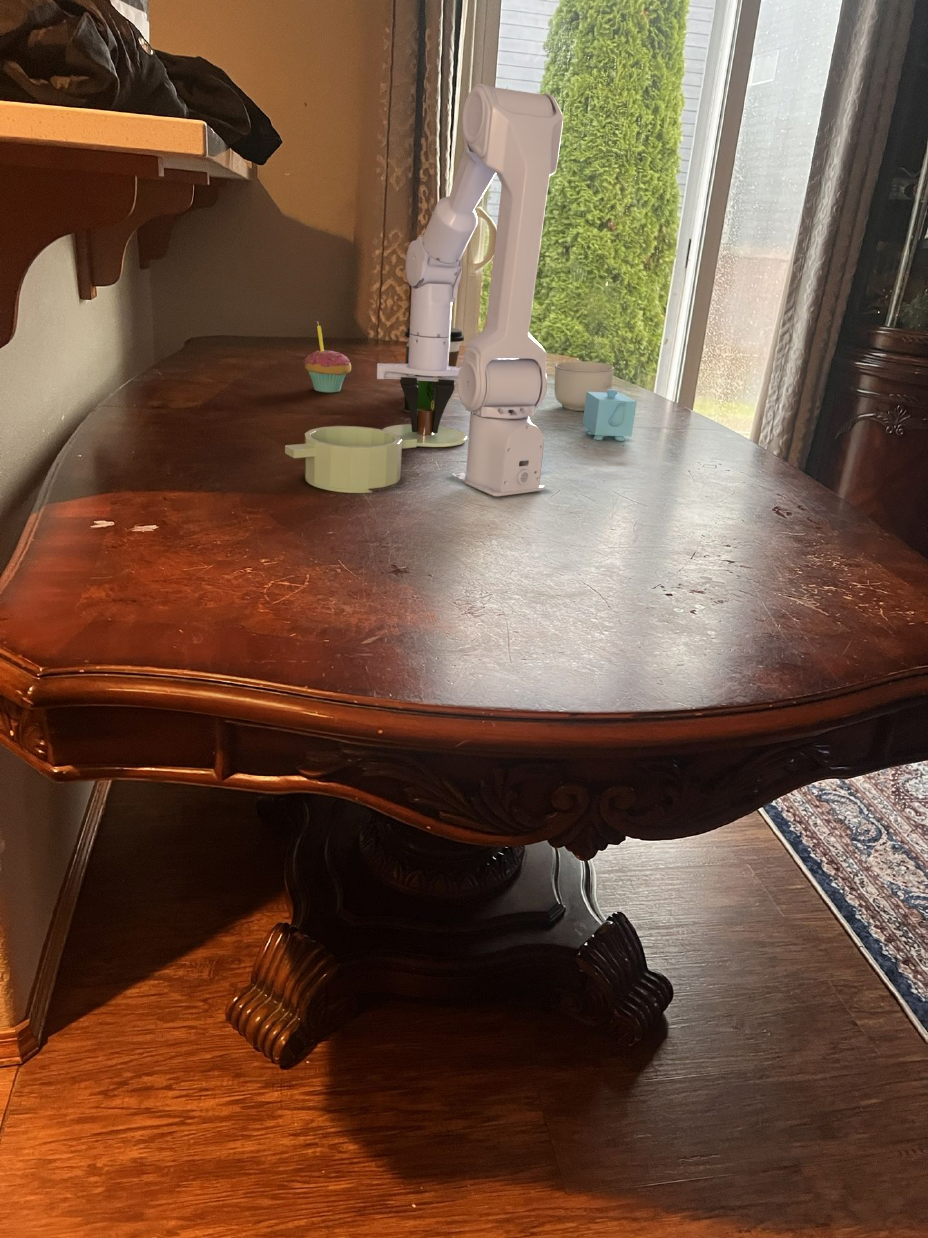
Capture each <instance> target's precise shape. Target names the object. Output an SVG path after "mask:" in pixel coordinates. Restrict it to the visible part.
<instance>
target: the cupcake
mask: <svg viewBox="0 0 928 1238" xmlns="http://www.w3.org/2000/svg"><path fill="white" fill-rule="evenodd" d="M316 323H317V326H316V328H317V337H318V345H319V350H316V351H314V352H312V353H310V354H308V355H307V357H305V359H304V360H303V365H304V369H305V370H307V372H308V374H309V377H310V379H311V382H312V387H313V389H314V391H316V392H320V393H339V392H340V391H342V390H341V389H342V386H343V384H344V380H345V377H346V376H347V374H349V373H351V371H352V364H351V361H350V359H349V358H348V356H346V355H344V354H343V353H342V352H339V351H334V350H326V349H324V341H323V334H322V333H323V332H322V326H321V325H320V322H319V321H318V320H317V321H316Z"/></svg>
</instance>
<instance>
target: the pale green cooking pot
mask: <svg viewBox="0 0 928 1238" xmlns="http://www.w3.org/2000/svg"><path fill="white" fill-rule="evenodd" d="M303 437H304V442H303V443H297V444H286V445H284V454H285V455H287V456H289V457H290V458H293V459H302V458H303V459H304V465H303V467H304V469H303V471H304V481H305V482H306V483H307V484H309V485H311V486H313V487H315V488H318V489H322V490H326V491H330V492H336V493H337V492H338V493H346V494H347V493H348V494H370V493H371V494H372V493H373V490H371V489H378V488H386V487H388V486H391V485H395V484H397V483H398V482H399V481H400V480H401V474H402V473H401V472H402V451H403V450H402V449H412V448H417V447H418V446H417V439H414V438H412V437H409V436H407V435H405V436H399V435H396V434H394V433H391V432H389V431H385V430H382V429H380V428H375V427H366V426H357V425H356V426H355V425H352V426H351V425H333V426H322V427H316V428H312V429H309V430H308V431H306V432H305V433H304V436H303Z"/></svg>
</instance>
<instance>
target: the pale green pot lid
mask: <svg viewBox="0 0 928 1238" xmlns="http://www.w3.org/2000/svg"><path fill="white" fill-rule="evenodd" d="M433 417H434V410H433V409H429V408H419V409H417V432H412V427H411V423H409V424H394V425H390V426H389V425H388V426H385V427H384V428H382V429H381V430H385V431H389V432H391V433H394V434H396V435H399V436H405V435H407V436H409V437H412V438H414V439H417V446H416V447H423V448H424V447H425V448H446V447H455V446H459V445H460V446H461V445H463V444H465V443H467V440H468V435H467V434H466V433H464V432H463V431H460V430H457V429H454V428H451V427H445V426H440V425H439V428H438V433H433Z"/></svg>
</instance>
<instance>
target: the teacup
mask: <svg viewBox="0 0 928 1238" xmlns="http://www.w3.org/2000/svg"><path fill="white" fill-rule="evenodd" d="M614 372H615V367H614V366H613V365H612V364H608V363H603V362H598V361H597V362H596V361H584V360H582V361H581V360H570V361H561V362H558V363H555V364H554V397H555V399H556V401H558V403H560V405H561V406H562V407H563V408H564V409H566V410H570V411H577V412H584V409H585V402H586V394H587V392H605V393H607V389H613V380H614Z"/></svg>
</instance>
